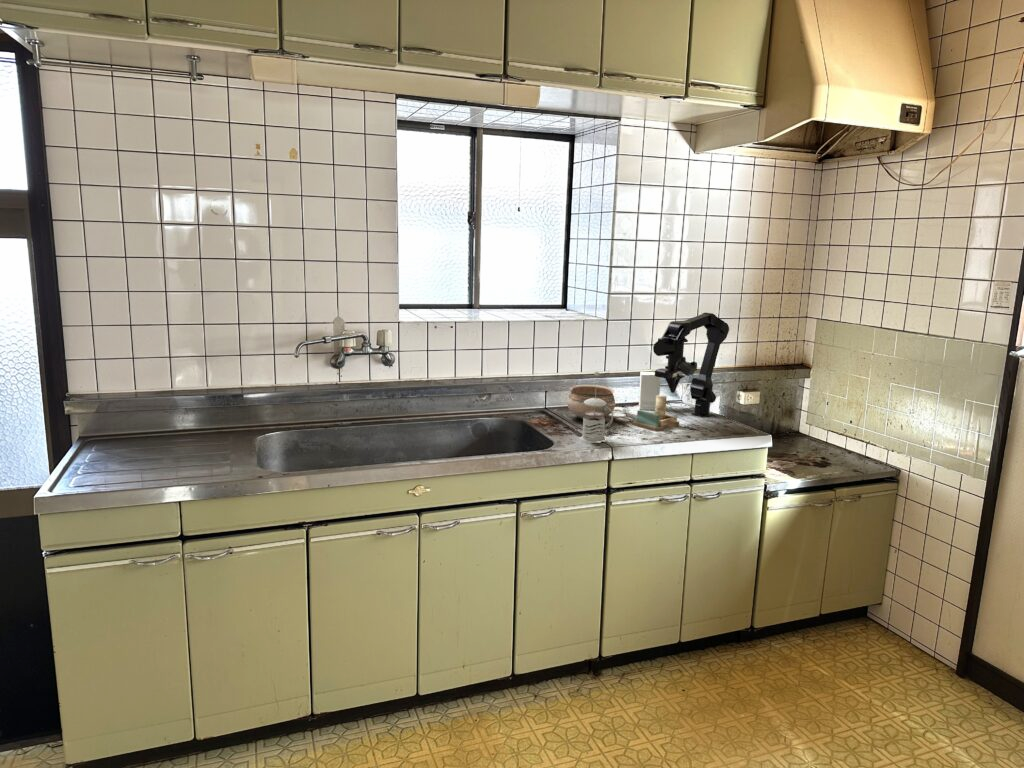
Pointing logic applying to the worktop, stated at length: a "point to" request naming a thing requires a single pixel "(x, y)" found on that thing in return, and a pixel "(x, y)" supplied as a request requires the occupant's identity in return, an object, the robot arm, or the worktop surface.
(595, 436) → the french press
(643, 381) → the skincare box
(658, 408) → the peg
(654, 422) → the cradle
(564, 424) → the worktop surface
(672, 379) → the robot arm
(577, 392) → the cooking pot
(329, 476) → the worktop surface
